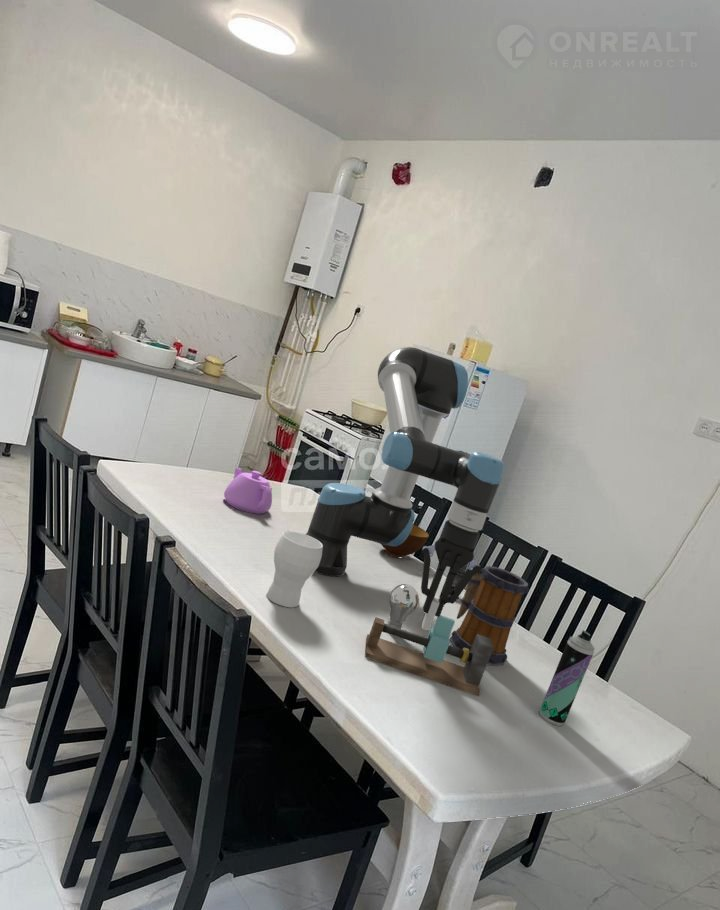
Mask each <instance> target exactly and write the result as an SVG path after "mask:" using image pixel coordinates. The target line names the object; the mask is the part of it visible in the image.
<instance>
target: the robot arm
mask: <svg viewBox="0 0 720 910" xmlns="http://www.w3.org/2000/svg"><path fill="white" fill-rule="evenodd" d="M377 381H378V386H379V388H380V389H381V391H382V392H383V396H384V402H385V407H386V414H387V421H388V428H389V434H388V435H387V436H386V437H385V441H384V442H383V444H382V453H381V460H382V462H383V464H385V465H386V466H388V468H387V469H386V470H387V471H386V472H385V476H384V478H383V480H382V482H381V486H380V487H377V488H374V489H373V491H372V493H371V496H367V495H366V491H365V490H364V489H362V488H360V487H358V486H354V485H352V484H347V483H343V482H341V483H340V482H332V483H327V484H325V485H324V486H323V488H322V490H321V491H320V494H319V496H318V498H317V503H316V506H315V509H314V511H313V515H312V517H311V520H310V523H309V527H308V530H307V532H306V533H305V534H306V535H308V536H311V537H313V538H315V539H317V540H318V541H320V542H321V543H322V545H323V549H322V557H321V560H320V563H319V566H318V568H317V569H316V570H315V572H314V573H317V574H321V575H324V576H331V577H338V576H339V577H340V576H343V575H345V573H346V570H347V566H348V545H349V542H350V539H351V537H355V538H358V539H363V540H366V541H369V542H373V543H377V544H380V545H381V544H382V545H389V546H398V545H400V544H402V543H403V542H404V541H405V540H406V539H407V537H408V536H409V534H410V532H411V530H412V527H413V524H414V522H415V517H416V516H415V515H416V514H415V511H414V510H413V509H412V508H413V503H412V501H411V497H412V493H413V491H414V488H415V485H416V483H417V481H418V478H419V476H421V477H424V478H428V479H430V480H433V481H436V482H440V483H443V484H446V485H450V486H452V487H455V488H456V490H457V491H456V493H455V496H454V499H453V501H452V505H451V506H450V509H449V511H448V515H447V518H448V519H447V520H446V521H445V523H444V525H443V528H442V530H441V533H440V535H439V536H440V537H439V538H438V539H437V541H435V543H434V544H431V545H428V546H427V545H425V544H424V545H423V546H422V547H421V549H422V553H423V556H424V557H423V566H422V574H421V575H422V576H421V577H422V578H421V582H420V583H421V584H420V585H421V586H420V591H421V593H422V594H423V595H425V596H426V598H425V601H424V604H423V606H422V611H423V613H425V615H424V617H423V620H422V623H421V629H422V630H424V631H428V632H429V631H430V628H432V625H433V622H434V620H435V617H436V618H437V617H439V616H440V615H441V614H442V611H443V610H444V609H443V608H444V606H445V605H447V604H452V605H453V604H455V602H456V601H457V600H458V599H457V598H458V597H459V598H460V595H461V594H462V593H463V591H464V590H465V589H466V588H467V584H468V582H469V581H470V579H471V578H472V577H473V576H474V575H475V574H476V573H480V572H481V569H482V568H481V566H480V564H479V563H477V562H476V560H475V559H474V558H475V555H474V551H475V549H476V546H477V543H478V540H479V538H480V536H481V535H480V531H482V530H483V528H484V524H485V522H486V519H487V516H488V513H489V511H490V509H491V506H492V504H493V501H494V498H495V496H496V493H497V491H498V488H499V486H500V483H501V482H502V478H503V473H504V471H505V468H506V465H505V462H504V461H503V460H502V459H499V458H497V457H495V456H492V455H489V454H487V453H484V452H480V451H473V452H472V453H471V454H470V453H468V452H467V451H466V452H465V451H463V450H460V449H451V448H450V447H449V448H448V447H445V446H442V445H439V444H436V443H433V441H434V438H435V437H436V436H435V435H436V434H437V431H438V428H439V425H440V423H441V421H442V419H443V418H445V417H447V416H449V415H450V413H451V411H452V409H453V410H454V409H459V408H460V407H461V405H462V404H463V403H464V401H465V398H466V396H467V392H468V387H469V376H468V370H467V368H466V367H465V366H464V365H462V364H461V363H458V362H457V361H454V360H452V359H448V358H445V357H443V356H439V355H437V354H433V353H432V352H431V353H430V352H428V351H425V350H422V349H420V348H418V347H411V346H408V347H407V346H406V347H400V348H397V349H395V350H393V351H390V352H389V353H388V354H387V355H386V356H385V357H384V358H383V359H382V360H381V362H380V364H379V365H378V370H377ZM382 545H381V546H382ZM434 553H436V556H437V560H438V564H437V568H436V571H435V573H434V576H433V578H432V581H431V583H430V587H429V579H430V570H431V558H432V557H433V556H434ZM466 564H467V568H466V570H465V573H464V574H463V576H462V577H461V579H460V580H459V582H458V583H457V584H456V586H455V587H454V589H453V590H452V592H451V593H450V595H449V592H450V589H451V587H452V584H453V581H454V579H455V576H456V574H457V572H458V569H460V568H462V567H463V566H465V565H466ZM447 567H449V569H448V572H447V575H446V578H445V580H444V583H443V586H442V589H441V592H440V594H439V598H436V597H435V596H436V595H437V591H438V589H439V586H440V584H441V581H442V578H443V575H444V573H445V571H446V568H447Z"/></svg>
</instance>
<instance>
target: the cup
mask: <svg viewBox="0 0 720 910" xmlns="http://www.w3.org/2000/svg"><path fill="white" fill-rule="evenodd" d="M322 549H323V545H322V543H321V542H320V541H318V540H317V539H315V538H313V537H311V536H308V535H306V533H302V532H297V531H294V530H286V531H283V533H282V534H281V536H280V537H279V539H278V541H277V542H276V545H275V547H274V551H273V554H274V555H273V564H274V568H275V571H274V576H273V580H272V582H271V585H270V586H269V588H268V590H267V592H266V598H267V599H268V600H269V601H271V602H272V603H274V604H275V605H279V606H281V607H286V608H296V607H298V606H299V605H300V599H301V594H302V590H303V588H304V585H305V583H306V581H307V580H308V579H309V578H310V577H312V575H314V574H315V573H316V572H315V570H316V569H317V568H318V566H319V563H320V560H321V557H322Z"/></svg>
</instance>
